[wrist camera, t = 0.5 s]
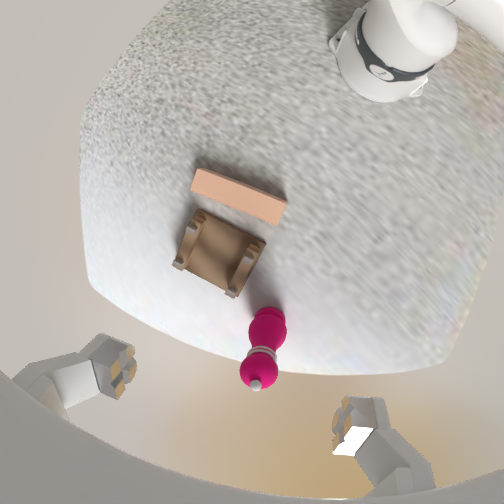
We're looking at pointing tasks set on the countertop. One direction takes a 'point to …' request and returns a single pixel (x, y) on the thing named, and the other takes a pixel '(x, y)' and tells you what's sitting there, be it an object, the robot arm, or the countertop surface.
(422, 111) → the countertop surface
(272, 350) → the pepper mill
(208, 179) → the peach rectangular block
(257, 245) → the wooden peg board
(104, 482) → the robot arm
